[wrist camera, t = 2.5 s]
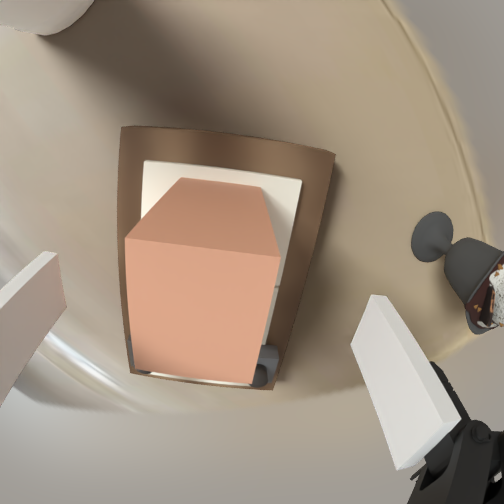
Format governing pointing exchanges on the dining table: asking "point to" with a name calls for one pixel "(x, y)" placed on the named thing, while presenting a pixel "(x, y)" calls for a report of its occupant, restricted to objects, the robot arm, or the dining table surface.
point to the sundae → (465, 269)
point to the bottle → (41, 14)
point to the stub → (206, 267)
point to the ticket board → (240, 158)
